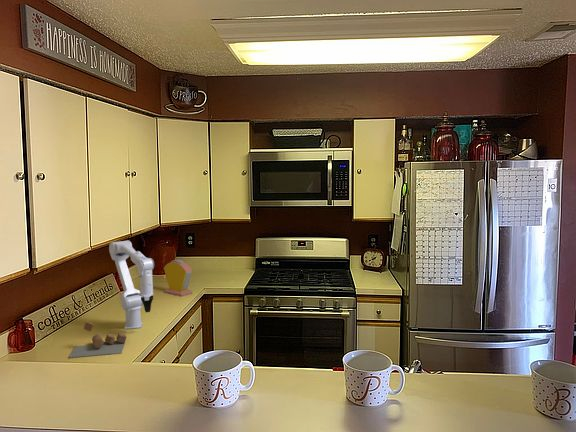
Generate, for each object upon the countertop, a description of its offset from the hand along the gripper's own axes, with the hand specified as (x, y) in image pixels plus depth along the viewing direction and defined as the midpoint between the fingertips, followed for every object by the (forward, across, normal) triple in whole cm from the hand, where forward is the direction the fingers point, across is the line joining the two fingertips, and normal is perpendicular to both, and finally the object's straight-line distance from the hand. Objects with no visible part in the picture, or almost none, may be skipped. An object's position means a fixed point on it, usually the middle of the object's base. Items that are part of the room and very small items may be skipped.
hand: (147, 311), depth 225 cm
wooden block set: (+6, +6, -19) cm, 21 cm away
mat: (+10, +16, -21) cm, 29 cm away
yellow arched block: (+10, -73, +18) cm, 76 cm away
